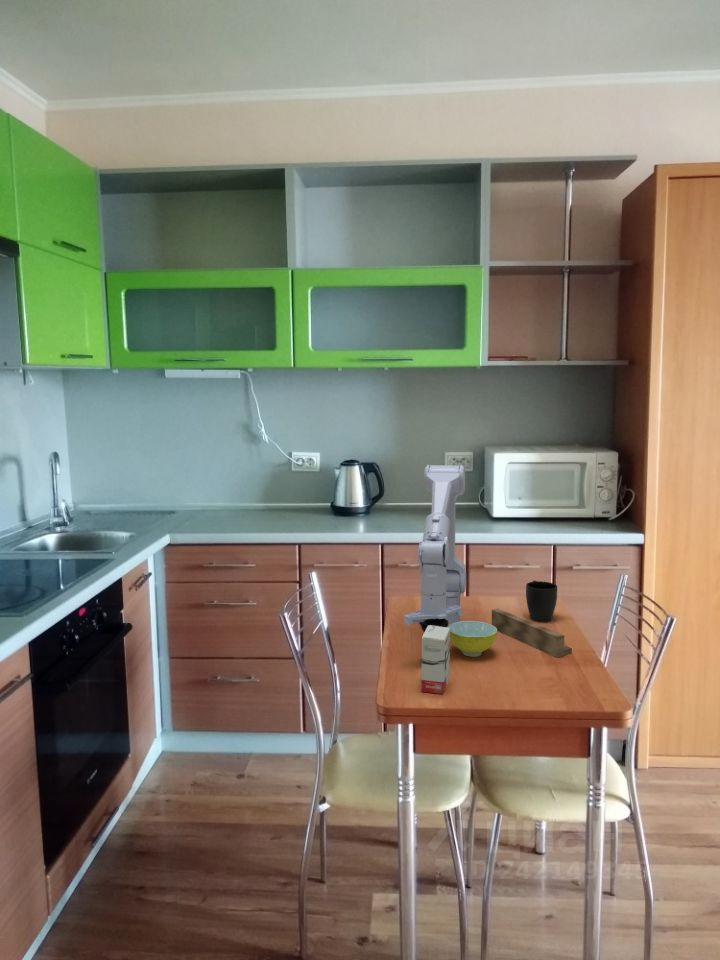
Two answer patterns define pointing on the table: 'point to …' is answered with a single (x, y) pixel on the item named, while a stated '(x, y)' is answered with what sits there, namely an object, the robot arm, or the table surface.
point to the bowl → (472, 636)
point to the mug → (541, 600)
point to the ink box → (435, 659)
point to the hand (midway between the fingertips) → (433, 649)
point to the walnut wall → (530, 633)
